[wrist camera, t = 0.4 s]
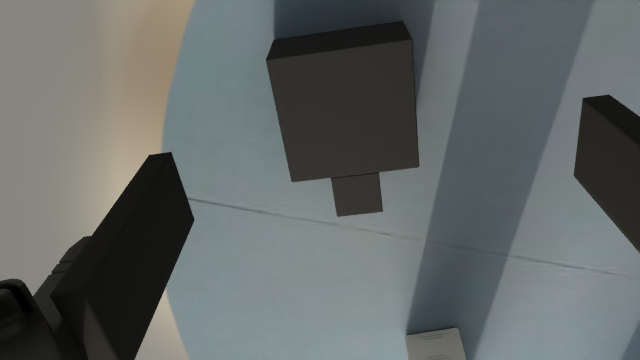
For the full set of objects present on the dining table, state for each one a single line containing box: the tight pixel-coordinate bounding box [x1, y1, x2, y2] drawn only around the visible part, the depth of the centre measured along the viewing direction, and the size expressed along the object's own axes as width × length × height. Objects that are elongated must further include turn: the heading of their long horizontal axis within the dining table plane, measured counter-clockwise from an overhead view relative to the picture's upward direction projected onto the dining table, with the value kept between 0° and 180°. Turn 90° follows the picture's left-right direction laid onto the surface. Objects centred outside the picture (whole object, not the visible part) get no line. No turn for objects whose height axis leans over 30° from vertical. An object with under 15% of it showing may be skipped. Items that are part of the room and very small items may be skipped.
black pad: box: [266, 21, 419, 217], centre depth 31 cm, size 8×11×4 cm
